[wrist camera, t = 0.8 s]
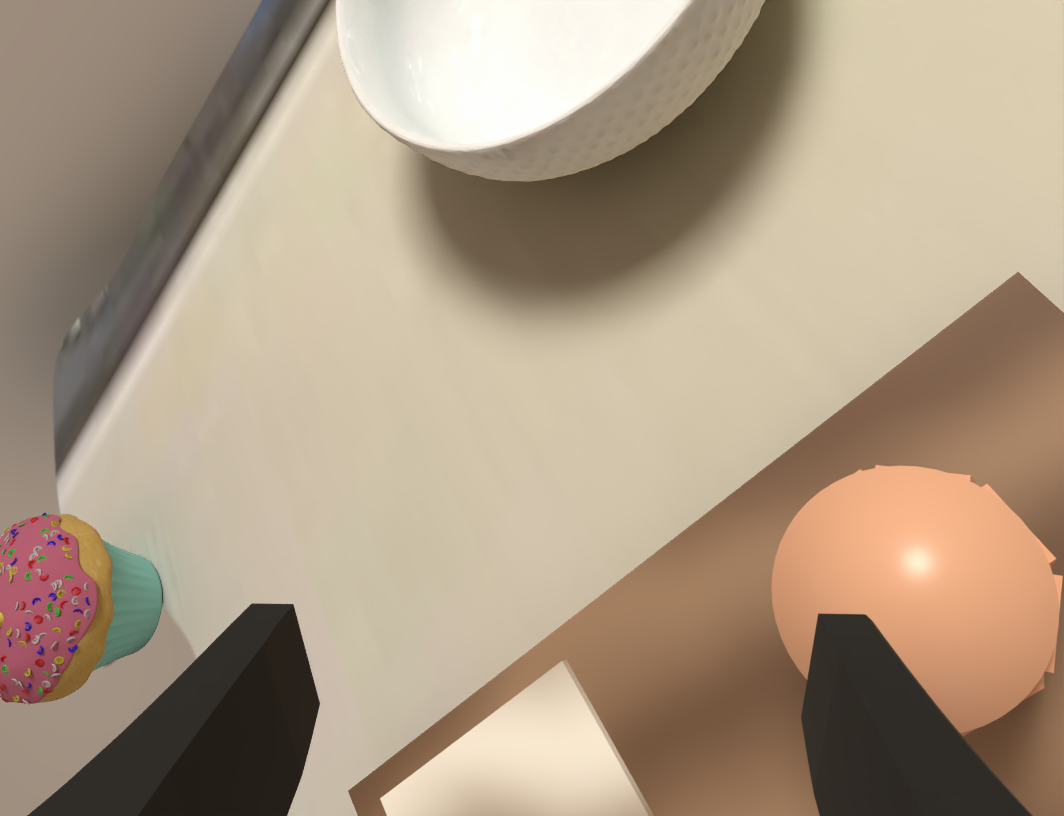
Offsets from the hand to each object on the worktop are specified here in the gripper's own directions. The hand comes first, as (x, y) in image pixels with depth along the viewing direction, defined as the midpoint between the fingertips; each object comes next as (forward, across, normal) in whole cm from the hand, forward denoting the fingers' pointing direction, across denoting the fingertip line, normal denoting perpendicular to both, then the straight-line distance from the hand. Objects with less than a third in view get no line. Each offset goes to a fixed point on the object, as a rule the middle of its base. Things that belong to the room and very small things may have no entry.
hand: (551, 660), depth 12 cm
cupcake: (+21, +23, +20) cm, 37 cm away
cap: (+8, -9, +6) cm, 13 cm away
